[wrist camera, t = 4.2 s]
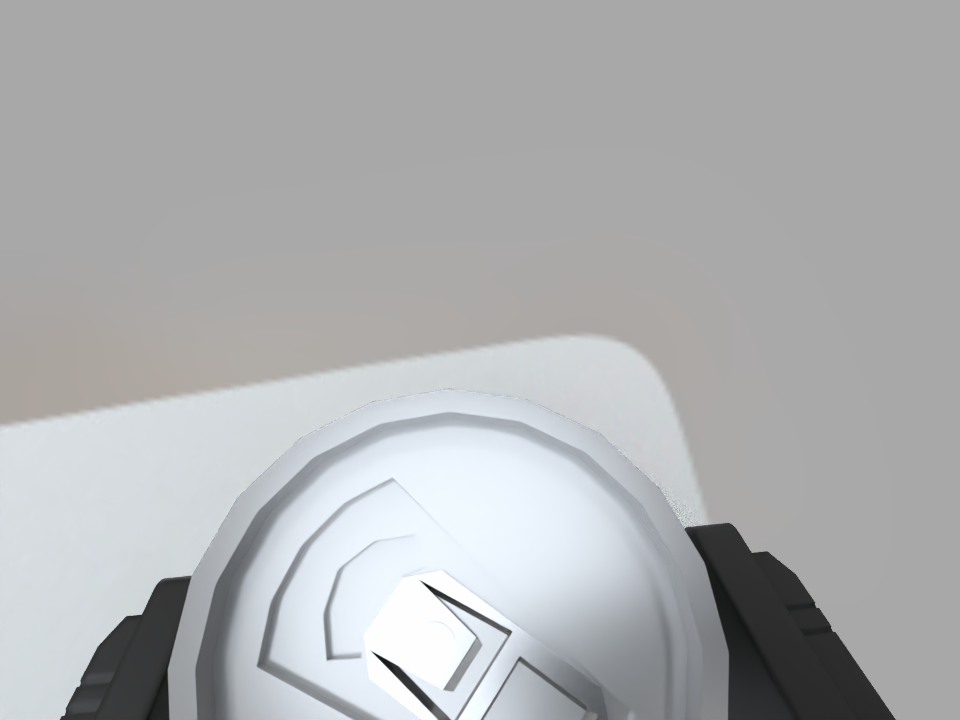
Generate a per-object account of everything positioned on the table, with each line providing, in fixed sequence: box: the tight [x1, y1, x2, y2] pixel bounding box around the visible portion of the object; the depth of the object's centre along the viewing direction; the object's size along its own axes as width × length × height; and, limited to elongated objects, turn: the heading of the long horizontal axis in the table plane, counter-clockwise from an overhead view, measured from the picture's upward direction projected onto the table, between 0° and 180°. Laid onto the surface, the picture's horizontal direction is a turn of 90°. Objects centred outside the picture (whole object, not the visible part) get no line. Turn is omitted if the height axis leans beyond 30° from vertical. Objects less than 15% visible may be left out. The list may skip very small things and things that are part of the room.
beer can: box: [168, 389, 729, 720], centre depth 11 cm, size 5×5×12 cm
